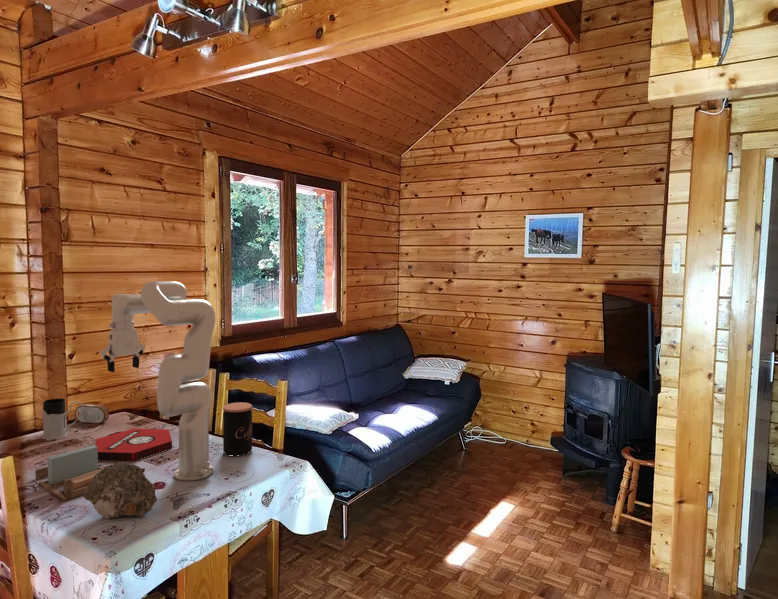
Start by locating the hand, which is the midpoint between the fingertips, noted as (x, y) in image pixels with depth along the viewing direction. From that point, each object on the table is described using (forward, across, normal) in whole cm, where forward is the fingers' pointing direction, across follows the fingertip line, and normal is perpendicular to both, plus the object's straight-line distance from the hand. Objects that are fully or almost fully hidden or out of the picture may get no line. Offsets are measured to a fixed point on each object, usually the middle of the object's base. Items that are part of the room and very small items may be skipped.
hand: (123, 369), depth 197 cm
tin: (+31, +8, +40) cm, 51 cm away
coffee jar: (+31, +21, -41) cm, 55 cm away
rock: (+31, -28, -52) cm, 66 cm away
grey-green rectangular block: (+31, -26, -15) cm, 43 cm away
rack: (+31, -26, -18) cm, 44 cm away
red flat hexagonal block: (+31, +1, -4) cm, 31 cm away
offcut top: (+29, -27, -26) cm, 47 cm away
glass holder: (+31, -8, +32) cm, 45 cm away
